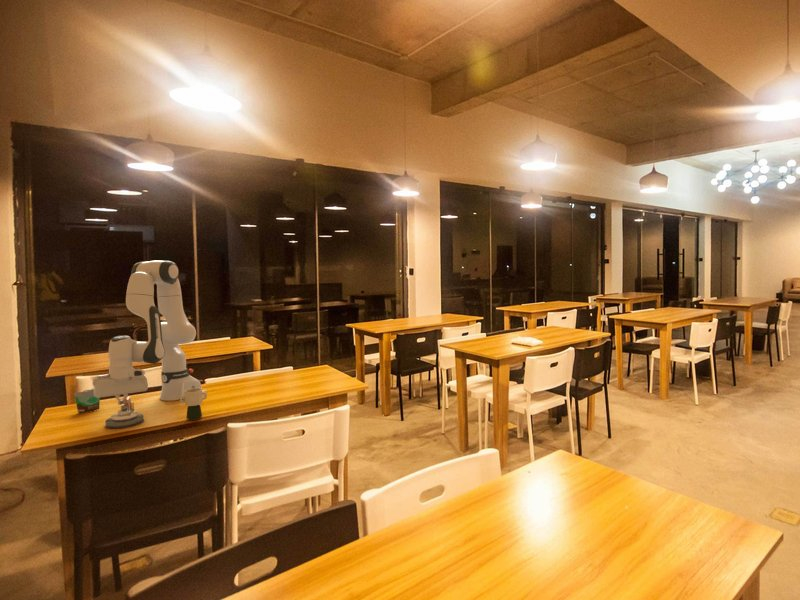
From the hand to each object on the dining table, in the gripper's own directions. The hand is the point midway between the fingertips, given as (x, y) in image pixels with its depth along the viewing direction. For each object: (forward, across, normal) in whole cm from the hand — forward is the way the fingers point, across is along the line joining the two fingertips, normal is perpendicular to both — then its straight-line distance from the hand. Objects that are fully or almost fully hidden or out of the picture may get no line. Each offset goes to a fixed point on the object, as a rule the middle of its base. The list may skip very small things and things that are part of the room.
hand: (121, 404), depth 194 cm
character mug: (+7, +24, -22) cm, 33 cm away
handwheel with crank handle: (+7, 0, -7) cm, 9 cm away
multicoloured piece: (+4, +1, -5) cm, 7 cm away
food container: (+7, -8, +25) cm, 27 cm away
